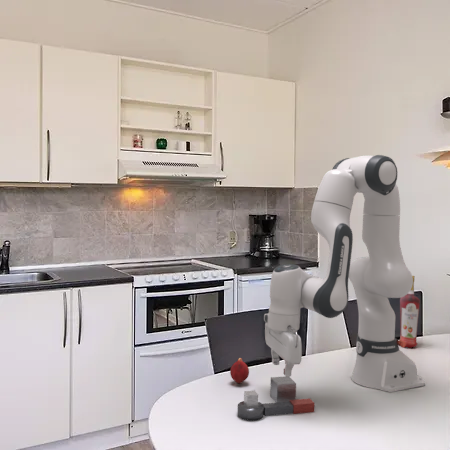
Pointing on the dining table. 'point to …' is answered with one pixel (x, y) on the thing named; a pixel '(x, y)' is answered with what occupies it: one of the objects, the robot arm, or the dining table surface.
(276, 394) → the gray cube
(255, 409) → the ratchet
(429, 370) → the dining table surface
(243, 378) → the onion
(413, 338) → the liquor
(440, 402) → the dining table surface
